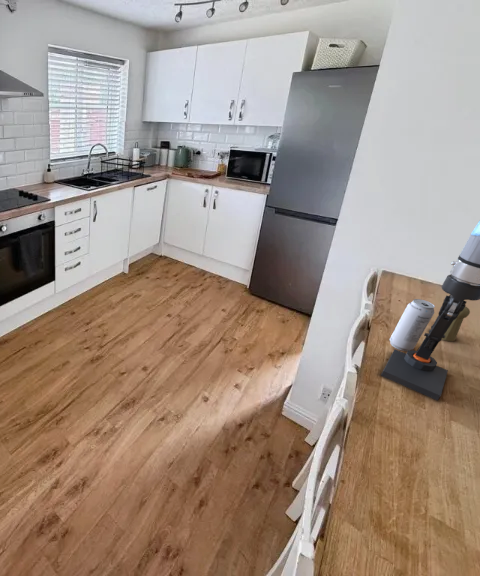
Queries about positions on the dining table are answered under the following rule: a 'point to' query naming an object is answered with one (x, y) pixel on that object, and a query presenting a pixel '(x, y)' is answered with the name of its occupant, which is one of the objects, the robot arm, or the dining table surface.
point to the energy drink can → (412, 324)
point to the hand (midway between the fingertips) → (422, 356)
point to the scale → (416, 373)
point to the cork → (456, 325)
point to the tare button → (421, 359)
